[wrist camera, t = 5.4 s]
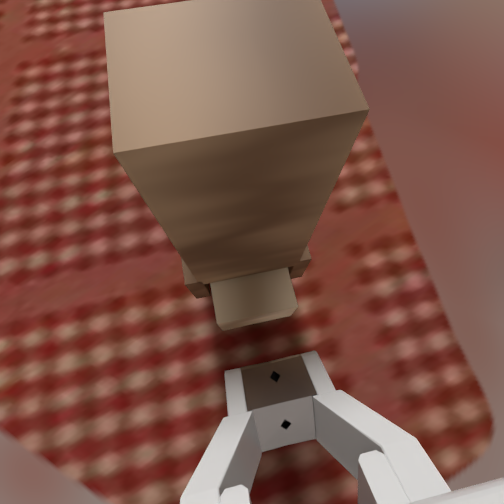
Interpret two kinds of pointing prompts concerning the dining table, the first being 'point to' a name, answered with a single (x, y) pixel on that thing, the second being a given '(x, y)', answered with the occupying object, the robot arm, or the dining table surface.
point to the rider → (232, 127)
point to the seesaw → (253, 298)
